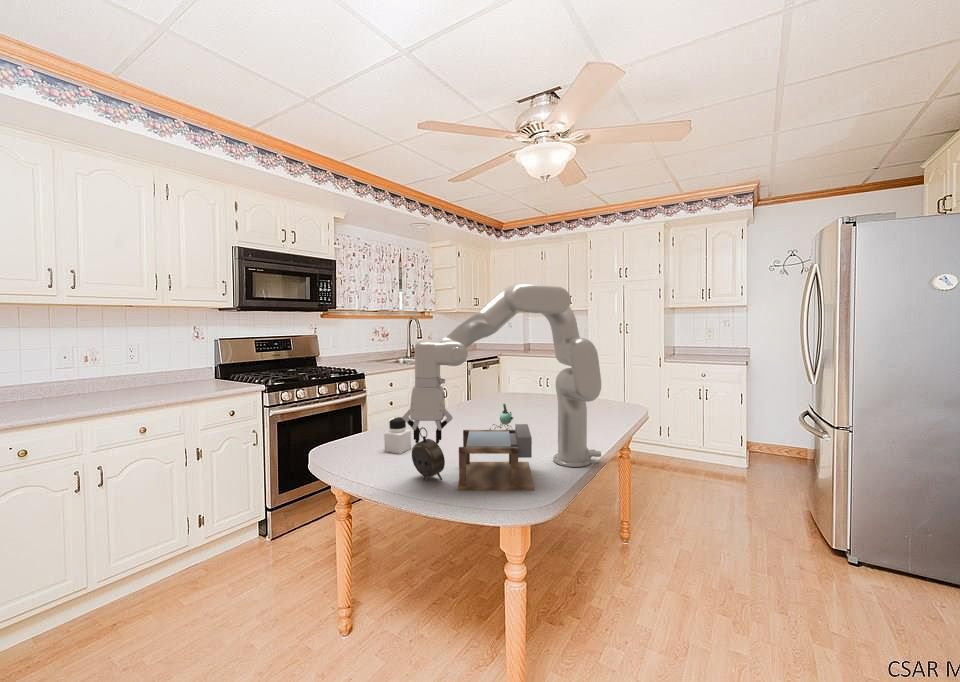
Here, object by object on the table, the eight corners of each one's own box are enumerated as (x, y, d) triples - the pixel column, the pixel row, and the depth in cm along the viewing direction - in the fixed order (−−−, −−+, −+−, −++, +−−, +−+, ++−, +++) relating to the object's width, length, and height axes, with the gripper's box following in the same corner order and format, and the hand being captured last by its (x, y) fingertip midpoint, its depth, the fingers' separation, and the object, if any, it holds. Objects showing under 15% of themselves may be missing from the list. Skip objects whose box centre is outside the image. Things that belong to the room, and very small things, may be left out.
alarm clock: (448, 478, 134) (441, 426, 133) (435, 485, 130) (427, 432, 129) (425, 472, 142) (417, 423, 140) (411, 479, 138) (404, 428, 136)
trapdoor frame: (528, 464, 148) (528, 429, 147) (534, 490, 127) (534, 449, 126) (462, 464, 149) (462, 429, 148) (457, 490, 128) (456, 449, 127)
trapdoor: (527, 441, 145) (527, 423, 145) (531, 458, 129) (531, 437, 129) (469, 441, 146) (469, 423, 145) (466, 458, 130) (466, 437, 129)
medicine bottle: (411, 448, 167) (410, 417, 166) (400, 454, 160) (399, 421, 159) (395, 446, 170) (395, 415, 169) (384, 451, 163) (383, 419, 162)
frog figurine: (478, 435, 184) (482, 399, 183) (520, 437, 187) (524, 402, 187) (483, 441, 174) (487, 404, 174) (527, 443, 178) (531, 407, 177)
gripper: (457, 381, 137) (456, 439, 138) (401, 380, 137) (401, 438, 138) (455, 385, 129) (454, 446, 130) (396, 384, 130) (396, 445, 131)
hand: (427, 441), depth 134 cm, fingers closed on alarm clock, 5 cm apart
